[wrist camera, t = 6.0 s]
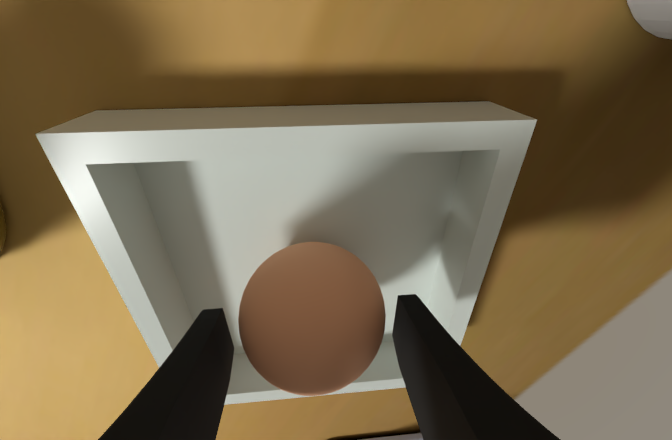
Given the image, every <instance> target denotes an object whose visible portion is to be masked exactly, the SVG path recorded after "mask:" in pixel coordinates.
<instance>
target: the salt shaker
mask: <svg viewBox="0 0 672 440" xmlns="http://www.w3.org/2000/svg"><path fill="white" fill-rule="evenodd" d="M5 238H6V222H5V217H4V213H3V210H2V207H1V205H0V252H1V250H2V248H3V245H4V243H5Z"/></svg>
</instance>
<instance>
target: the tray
mask: <svg viewBox="0 0 672 440" xmlns="http://www.w3.org/2000/svg"><path fill="white" fill-rule="evenodd" d="M536 122H537V119H534V118H532V117H529V116H526V115H524V114H521V113H519V112H516V111H513V110H511V109H508V108H505V107H503V106H500V105H498V104H495V103H492V102H490V101H480V102H437V103H394V104H351V105H309V106H266V107H223V108H180V109H137V110H96V111H93V112H91V113H88V114H85V115H83V116H80V117H78V118H75V119H72V120H70V121H67V122H65V123H62V124H59V125H57V126H54V127H52V128H49V129H46V130H44V131H41V132H39V133H36V134H35V135H36V137H37V139H38V140H39V142H40V144H41V146H42V148H43V150H44V152H45V154H46V155H47V157H48V159H49V161H50V163H51V165H52V167H53V169H54V171H55V172H56V174H57V176H58V178H59V180H60V182H61V184H62V186H63V187H64V189H65V191H66V193H67V195H68V197H69V199H70V201H71V203H72V204H73V206H74V208H75V210H76V212H77V214H78V216H79V218H80V219H81V221H82V223H83V225H84V227H85V229H86V231H87V233H88V235H89V236H90V238H91V240H92V242H93V244H94V246H95V248H96V250H97V251H98V253H99V255H100V257H101V259H102V261H103V263H104V265H105V266H106V268H107V270H108V272H109V274H110V276H111V278H112V280H113V282H114V283H115V285H116V287H117V289H118V291H119V293H120V295H121V297H122V298H123V300H124V302H125V304H126V306H127V308H128V310H129V312H130V314H131V315H132V317H133V319H134V321H135V323H136V325H137V327H138V329H139V330H140V332H141V334H142V336H143V338H144V340H145V342H146V344H147V346H148V347H149V349H150V351H151V353H152V355H153V357H154V359H155V361H156V362H157V364H158V366H159V368H160V366H161V365H162V364H163V363H164V361H165V360H166V359H167V357H168V356H169V355H170V354H171V352H172V351H173V350H174V348H175V347H176V346H177V344H178V343H179V341H180V340H181V339H182V337H183V336H184V335H185V333H186V332H187V331H188V329H189V328H190V326H191V325H192V324H193V322H194V321H195V319H196V318H197V317H198V315H199V314H200V312H201V311H202V310H203V309H216V308H223V311H224V314H225V317H226V321H227V324H228V328H229V331H230V335H231V338H232V341H233V345H234V355H233V363H232V370H231V377H230V382H229V387H228V391H227V395H226V399H225V403H224V405H226V404H236V403H247V402H257V401H268V400H278V399H288V398H299V397H309V396H303V395H297V394H293V393H289V392H286V391H283V390H281V389H279V388H277V387H276V386H274V385H272V384H271V383H269V382H268V381H267V380H265V379H264V378H263V377H262V376H261V375H260V374H259V373H258V372H257V371H256V369H255V368H254V367H253V365H252V364H251V363H250V361H249V359H248V357H247V355H246V353H245V351H244V349H243V346H242V342H241V339H240V334H239V323H238V317H239V307H240V302H241V298H242V295H243V292H244V290H245V288H246V285H247V283H248V281H249V280H250V278H251V277H252V275H253V274H254V272H255V271H256V270H257V268H258V267H259V266H260V265H261V264H262V263H263V262H264V261H265V260H266V259H268V258H269V257H270V256H271V255H273V254H274V253H276V252H278V251H279V250H282V249H284V248H286V247H288V246H291V245H294V244H298V243H303V242H323V243H329V244H333V245H336V246H339V247H342V248H344V249H345V250H347V251H349V252H351V253H352V254H354V255H355V256H357V257H358V258H359V259H360V260H361V261H362V262H363V263H364V264H365V265H366V266H367V267H368V268H369V270H370V271H371V272H372V274H373V275H374V276H375V278H376V280H377V282H378V284H379V287H380V289H381V292H382V295H383V299H384V304H385V314H386V320H385V331H384V335H383V339H382V343H381V345H380V348H379V350H378V352H377V354H376V356H375V358H374V359H373V361H372V363H371V364H370V366H369V367H368V368H367V369H366V370H365V371H364V372H363V373H362V375H361V376H360V377H358V378H357V379H356V380H355V381H353V382H352V383H350V384H349V385H347V386H346V387H344V388H342V389H340V390H337V391H335V392H332V393H328V394H324V395H330V394H341V393H351V392H362V391H372V390H382V389H393V388H403V387H406V386H405V383H404V380H403V377H402V374H401V371H400V368H399V364H398V360H397V356H396V351H395V346H394V342H393V337H392V332H393V325H394V318H395V312H396V305H397V298H398V295H410V294H416V295H417V296H418V297H419V298H420V299H421V301H422V302H423V303H424V304H425V306H426V307H427V308H428V309H429V311H430V312H431V313H432V314H433V315H434V317H435V318H436V319H437V320H438V321H439V323H440V324H441V325H442V326H443V327H444V328H445V330H446V331H447V332H448V333H449V334H450V335H451V337H452V338H453V339H454V340H455V341H456V342H457V343H458V344H459V345H461V342H462V339H463V336H464V334H465V331H466V328H467V325H468V322H469V319H470V316H471V313H472V310H473V307H474V304H475V301H476V298H477V295H478V292H479V289H480V287H481V284H482V281H483V278H484V275H485V272H486V269H487V266H488V263H489V260H490V257H491V254H492V251H493V248H494V245H495V242H496V240H497V237H498V234H499V231H500V228H501V225H502V222H503V219H504V216H505V213H506V210H507V207H508V204H509V201H510V198H511V195H512V193H513V190H514V187H515V184H516V181H517V178H518V175H519V172H520V169H521V166H522V163H523V160H524V157H525V154H526V151H527V148H528V145H529V143H530V140H531V137H532V134H533V131H534V128H535V125H536ZM317 396H320V395H317Z"/></svg>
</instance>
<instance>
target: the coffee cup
mask: <svg viewBox="0 0 672 440" xmlns="http://www.w3.org/2000/svg"><path fill="white" fill-rule="evenodd" d="M627 4H628V6H629V8H630V10H631V13H632V15H633V17H634V19H635V20H636V21H637V22H638V23H639V24H640V25H641V26H642V28H643V29H644V30H646V31H648V32H649V33H651V34H653V35H655V36H657V37H660V38H666V39H671V40H672V0H627Z"/></svg>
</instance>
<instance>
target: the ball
mask: <svg viewBox="0 0 672 440" xmlns="http://www.w3.org/2000/svg"><path fill="white" fill-rule="evenodd" d="M385 320H386V314H385V304H384V299H383V295H382V292H381V289H380V287H379V284H378V282H377V280H376V278H375V276H374V275H373V274H372V272H371V271H370V270H369V268H368V267H367V266H366V265H365V264H364V263H363V262H362V261H361V260H360V259H359V258H358V257H357V256H355V255H354V254H352V253H351V252H349V251H347V250H345V249H344V248H342V247H339V246H336V245H333V244H329V243H323V242H303V243H298V244H294V245H291V246H288V247H286V248H284V249H282V250H279V251H278V252H276V253H274V254H273V255H271V256H270V257H269V258H268V259H266V260H265V261H264V262H263V263H262V264H261V265H260V266H259V267H258V268H257V270H256V271H255V272H254V274H253V275H252V277H251V278H250V280H249V281H248V283H247V285H246V288H245V290H244V292H243V295H242V298H241V302H240V307H239V317H238V323H239V334H240V339H241V342H242V346H243V349H244V351H245V353H246V355H247V357H248V359H249V361H250V363H251V364H252V365H253V367H254V368H255V369H256V371H257V372H258V373H259V374H260V375H261V376H262V377H263V378H264V379H265V380H267V381H268V382H269V383H271V384H272V385H274V386H276V387H277V388H279V389H281V390H283V391H286V392H289V393H293V394H297V395H303V396H317V395H324V394H328V393H332V392H335V391H337V390H340V389H342V388H344V387H346V386H347V385H349V384H350V383H352V382H353V381H355V380H356V379H357V378H358V377H360V376H361V375H362V373H363V372H364V371H365V370H366V369H367V368H368V367H369V366H370V364H371V363H372V361H373V359H374V358H375V356H376V354H377V352H378V350H379V348H380V345H381V343H382V339H383V335H384V331H385Z"/></svg>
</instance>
